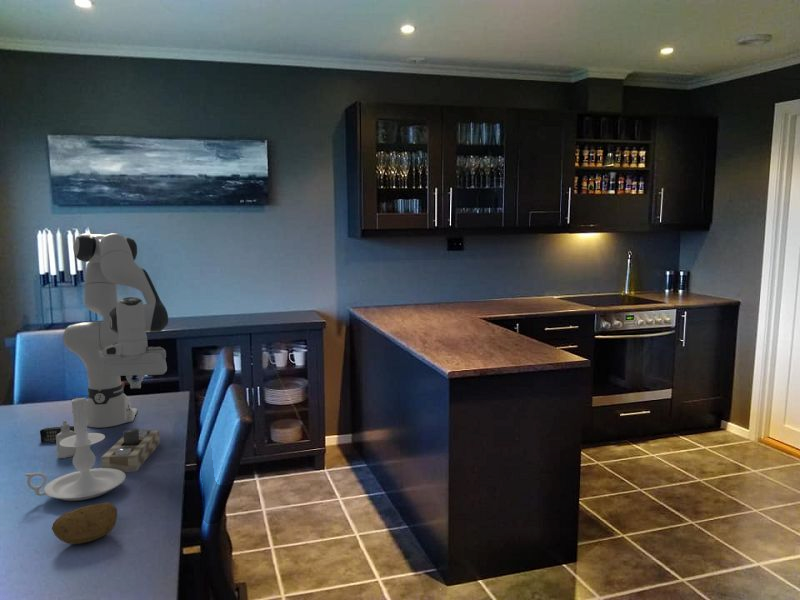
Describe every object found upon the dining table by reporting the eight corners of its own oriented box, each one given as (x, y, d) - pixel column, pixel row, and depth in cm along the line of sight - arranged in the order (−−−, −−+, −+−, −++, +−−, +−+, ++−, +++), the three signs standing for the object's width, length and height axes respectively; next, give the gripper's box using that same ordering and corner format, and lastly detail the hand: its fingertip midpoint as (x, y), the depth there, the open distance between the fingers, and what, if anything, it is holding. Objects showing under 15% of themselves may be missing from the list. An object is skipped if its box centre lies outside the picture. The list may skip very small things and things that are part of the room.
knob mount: (129, 445, 214) (128, 431, 213) (159, 444, 214) (158, 430, 214) (102, 473, 190) (101, 457, 189) (136, 471, 191) (135, 455, 190)
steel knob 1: (118, 461, 196) (117, 446, 196) (134, 461, 197) (133, 446, 196) (113, 467, 192) (112, 451, 191) (129, 466, 192) (127, 451, 191)
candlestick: (28, 490, 178) (19, 395, 175) (122, 473, 190) (116, 383, 186) (25, 520, 160) (16, 414, 157) (130, 498, 172) (123, 399, 169)
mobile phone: (38, 430, 216) (84, 426, 218) (42, 427, 219) (87, 423, 221) (40, 443, 217) (86, 440, 219) (43, 441, 220) (88, 437, 222)
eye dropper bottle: (76, 457, 203) (73, 421, 202) (56, 459, 201) (53, 423, 200) (77, 452, 207) (75, 417, 206) (58, 454, 205) (56, 419, 204)
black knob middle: (127, 443, 204) (126, 428, 203) (141, 443, 204) (140, 428, 204) (122, 448, 199) (121, 433, 199) (136, 448, 200) (135, 432, 199)
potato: (51, 540, 149) (48, 509, 148) (114, 524, 157) (112, 494, 156) (56, 558, 141) (53, 525, 140) (122, 540, 149) (120, 508, 148)
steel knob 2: (135, 444, 212) (134, 430, 211) (149, 443, 212) (148, 429, 212) (131, 449, 208) (130, 434, 207) (145, 448, 208) (144, 434, 207)
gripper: (168, 344, 210) (170, 384, 212) (105, 346, 208) (108, 386, 210) (162, 348, 204) (165, 389, 205) (97, 350, 202) (100, 391, 204)
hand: (135, 388), depth 208 cm, fingers closed
